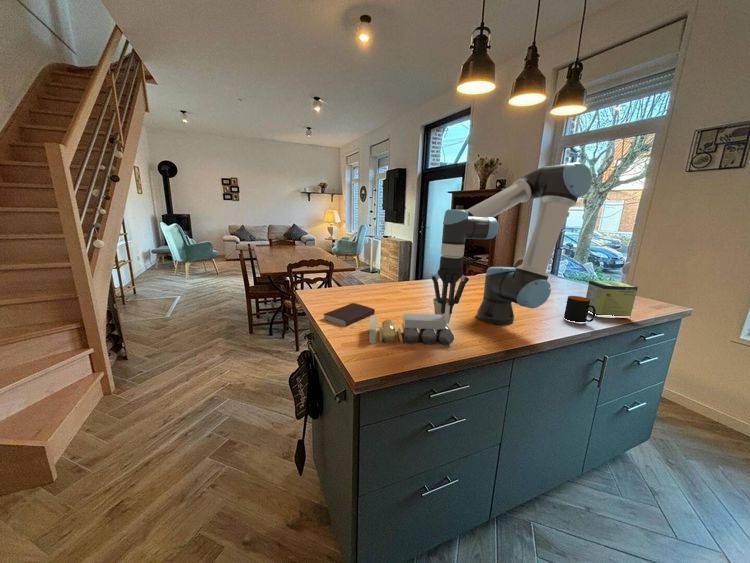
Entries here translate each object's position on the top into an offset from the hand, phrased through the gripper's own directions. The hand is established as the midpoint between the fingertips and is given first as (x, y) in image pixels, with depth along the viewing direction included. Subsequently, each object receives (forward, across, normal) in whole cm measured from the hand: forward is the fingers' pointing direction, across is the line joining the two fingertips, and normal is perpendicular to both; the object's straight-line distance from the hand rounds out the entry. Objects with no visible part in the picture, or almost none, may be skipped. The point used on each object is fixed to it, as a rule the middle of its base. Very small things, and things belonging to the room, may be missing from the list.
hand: (445, 322), depth 107 cm
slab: (+2, +8, 0) cm, 8 cm away
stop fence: (+7, +26, 0) cm, 27 cm away
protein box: (+7, -86, -36) cm, 93 cm away
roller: (+7, +19, 0) cm, 20 cm away
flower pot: (+7, -4, -20) cm, 22 cm away
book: (+7, +35, -20) cm, 41 cm away
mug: (+7, -65, -24) cm, 69 cm away
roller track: (+7, +10, 0) cm, 12 cm away
